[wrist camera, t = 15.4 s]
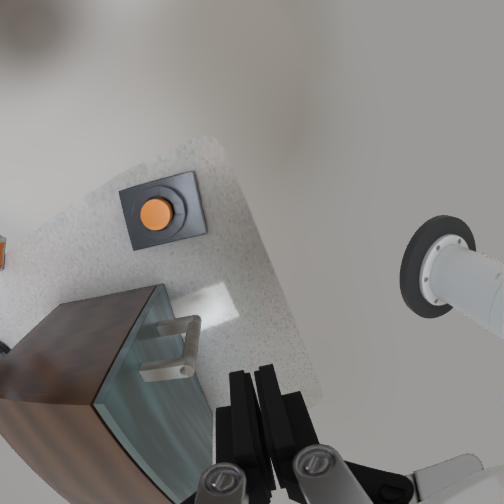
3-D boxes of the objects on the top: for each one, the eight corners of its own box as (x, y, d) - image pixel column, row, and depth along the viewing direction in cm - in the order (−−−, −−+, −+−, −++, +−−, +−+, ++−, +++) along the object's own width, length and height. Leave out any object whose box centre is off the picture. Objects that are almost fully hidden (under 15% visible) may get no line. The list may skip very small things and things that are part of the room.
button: (169, 194, 32) (166, 195, 31) (176, 224, 33) (173, 226, 32) (141, 202, 32) (137, 203, 31) (148, 231, 33) (144, 233, 31)
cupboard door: (199, 276, 39) (172, 399, 16) (240, 410, 46) (254, 527, 22) (157, 285, 39) (92, 404, 15) (207, 415, 45) (206, 530, 22)
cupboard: (156, 284, 39) (89, 405, 15) (206, 415, 45) (204, 531, 22) (59, 304, 38) (-30, 392, 14) (121, 421, 45) (91, 519, 21)
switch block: (194, 171, 36) (191, 170, 32) (207, 230, 38) (206, 236, 34) (124, 190, 35) (113, 191, 31) (138, 247, 37) (129, 254, 33)
